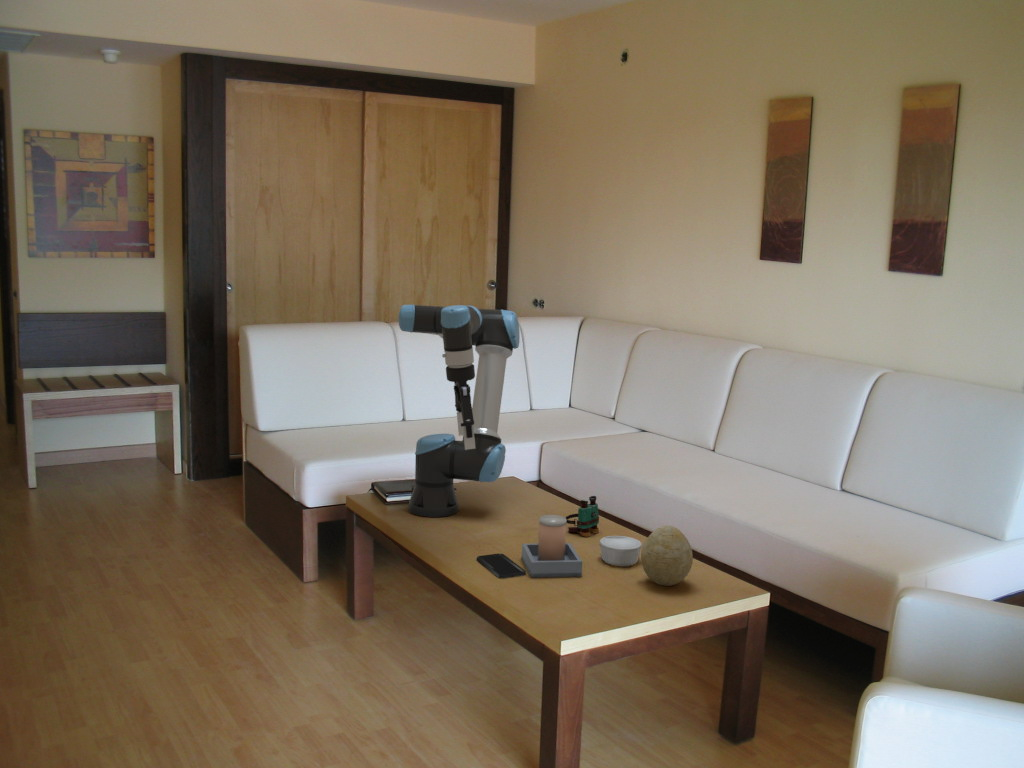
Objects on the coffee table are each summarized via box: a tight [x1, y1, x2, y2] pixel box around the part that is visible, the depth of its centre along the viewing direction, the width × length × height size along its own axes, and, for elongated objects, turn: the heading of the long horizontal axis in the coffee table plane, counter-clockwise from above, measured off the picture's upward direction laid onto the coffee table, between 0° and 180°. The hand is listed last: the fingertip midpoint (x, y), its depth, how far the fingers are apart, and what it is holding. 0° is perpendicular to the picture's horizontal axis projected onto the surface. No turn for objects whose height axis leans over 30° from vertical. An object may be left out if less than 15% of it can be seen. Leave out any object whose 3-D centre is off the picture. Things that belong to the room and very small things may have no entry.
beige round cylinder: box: [537, 514, 567, 561], centre depth 245 cm, size 7×7×12 cm
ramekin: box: [599, 535, 643, 567], centre depth 253 cm, size 11×11×5 cm
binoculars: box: [565, 495, 600, 538], centre depth 275 cm, size 9×11×10 cm
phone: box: [476, 553, 526, 580], centre depth 245 cm, size 8×1×15 cm
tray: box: [521, 542, 583, 579], centre depth 246 cm, size 14×13×4 cm
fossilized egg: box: [640, 525, 694, 587], centre depth 237 cm, size 13×13×15 cm
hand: (466, 441), depth 256 cm, fingers open, 13 cm apart
